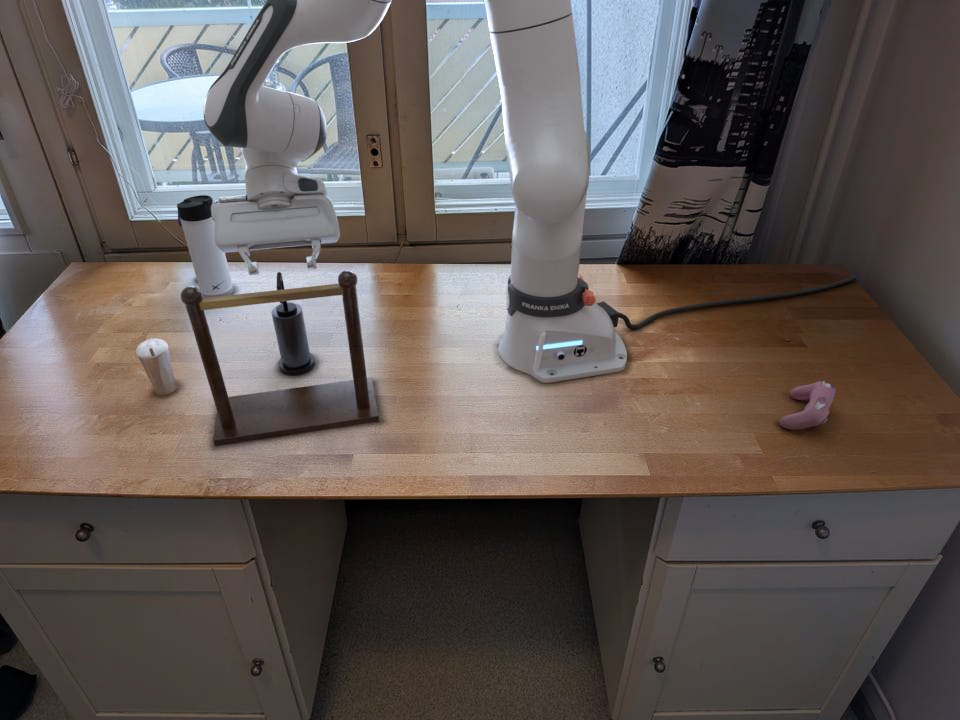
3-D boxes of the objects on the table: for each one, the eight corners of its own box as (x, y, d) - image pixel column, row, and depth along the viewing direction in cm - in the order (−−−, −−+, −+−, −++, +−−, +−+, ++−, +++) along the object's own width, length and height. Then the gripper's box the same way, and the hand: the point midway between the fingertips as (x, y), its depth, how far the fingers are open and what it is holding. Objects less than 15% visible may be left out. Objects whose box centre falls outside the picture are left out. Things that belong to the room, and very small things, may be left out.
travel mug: (225, 302, 128) (201, 206, 116) (195, 298, 129) (167, 202, 118) (241, 287, 133) (219, 193, 121) (211, 283, 134) (187, 190, 123)
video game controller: (800, 444, 98) (836, 420, 93) (775, 424, 99) (810, 399, 94) (811, 409, 105) (845, 385, 100) (788, 390, 106) (821, 365, 101)
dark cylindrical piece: (279, 357, 113) (259, 263, 102) (314, 353, 114) (298, 259, 103) (279, 386, 106) (257, 288, 96) (316, 381, 108) (299, 284, 97)
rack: (220, 404, 103) (179, 264, 88) (372, 383, 107) (357, 247, 93) (214, 446, 95) (169, 300, 80) (379, 421, 99) (363, 280, 85)
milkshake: (153, 404, 102) (133, 352, 97) (149, 385, 106) (131, 334, 100) (183, 396, 104) (166, 344, 98) (179, 378, 108) (162, 327, 102)
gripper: (205, 190, 105) (213, 271, 103) (333, 180, 109) (343, 258, 107) (213, 205, 111) (222, 283, 109) (334, 196, 115) (344, 270, 113)
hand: (283, 271), depth 108 cm, fingers open, 8 cm apart
